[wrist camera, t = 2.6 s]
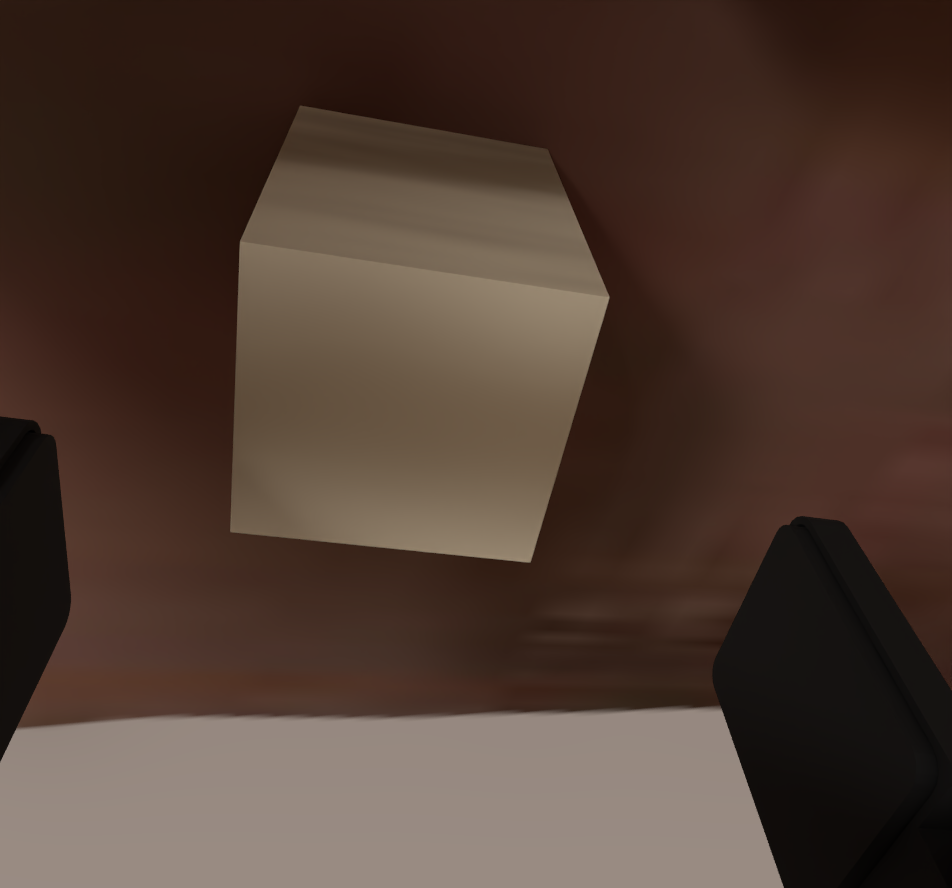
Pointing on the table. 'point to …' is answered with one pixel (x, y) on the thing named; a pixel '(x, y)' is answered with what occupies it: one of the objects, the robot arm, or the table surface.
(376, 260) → the beech block
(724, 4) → the table surface
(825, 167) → the table surface
